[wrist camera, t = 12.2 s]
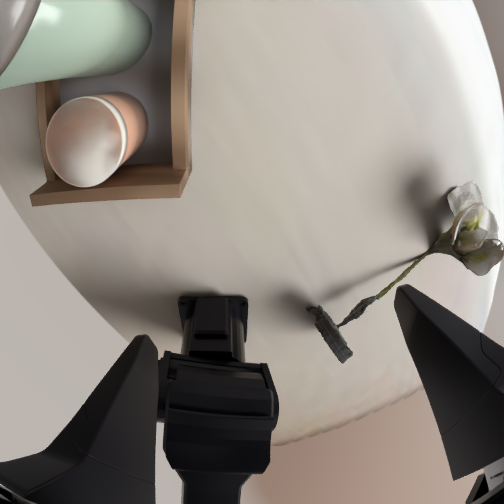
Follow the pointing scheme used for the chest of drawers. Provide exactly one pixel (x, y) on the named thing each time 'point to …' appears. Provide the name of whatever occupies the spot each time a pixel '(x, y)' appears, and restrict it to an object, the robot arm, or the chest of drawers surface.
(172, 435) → the robot arm
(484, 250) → the artificial flower
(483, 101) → the chest of drawers surface
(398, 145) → the chest of drawers surface
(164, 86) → the wooden tray
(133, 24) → the mint green grey canister
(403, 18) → the chest of drawers surface
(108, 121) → the jar
